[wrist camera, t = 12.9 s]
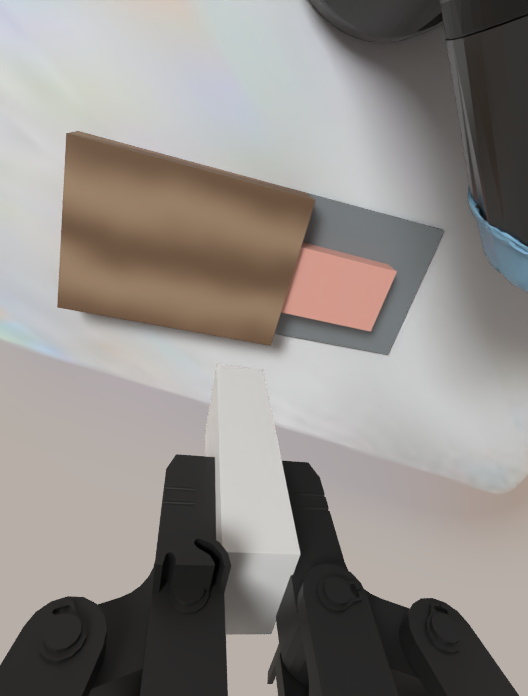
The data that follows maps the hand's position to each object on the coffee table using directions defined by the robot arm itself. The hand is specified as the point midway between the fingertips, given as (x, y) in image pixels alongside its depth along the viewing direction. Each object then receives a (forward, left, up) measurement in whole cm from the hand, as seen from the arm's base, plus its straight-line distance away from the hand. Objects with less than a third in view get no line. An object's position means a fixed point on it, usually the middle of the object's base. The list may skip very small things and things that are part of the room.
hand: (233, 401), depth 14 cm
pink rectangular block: (+3, +12, -25) cm, 28 cm away
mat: (+2, +13, -25) cm, 29 cm away
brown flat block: (+2, -2, -25) cm, 25 cm away
